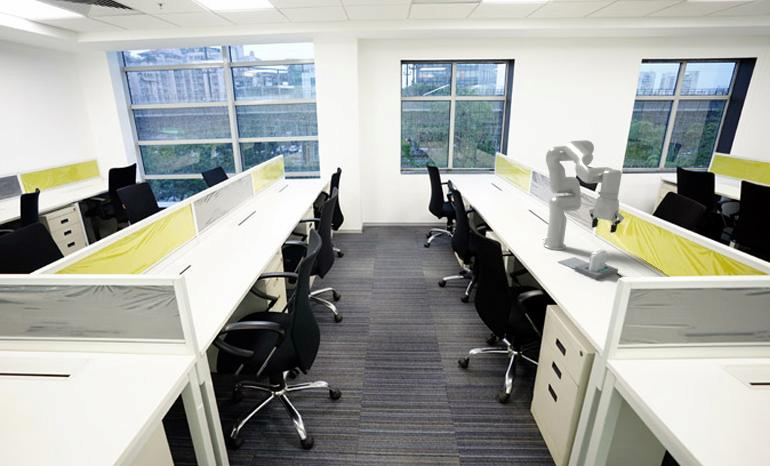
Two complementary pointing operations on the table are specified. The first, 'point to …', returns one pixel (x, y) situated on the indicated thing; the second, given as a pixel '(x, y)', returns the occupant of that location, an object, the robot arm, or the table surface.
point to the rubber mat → (572, 262)
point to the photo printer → (597, 260)
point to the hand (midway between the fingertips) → (603, 229)
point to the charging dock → (598, 274)
